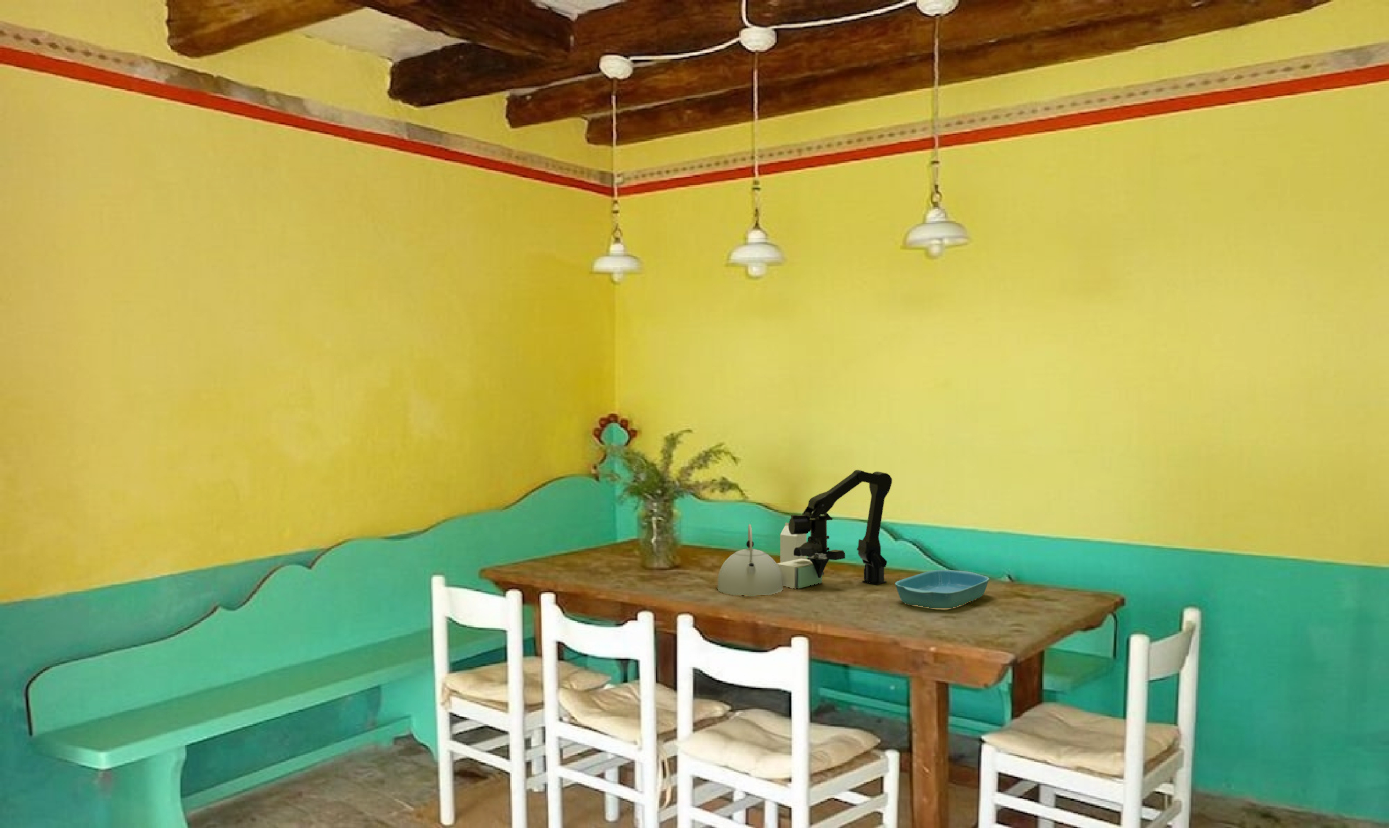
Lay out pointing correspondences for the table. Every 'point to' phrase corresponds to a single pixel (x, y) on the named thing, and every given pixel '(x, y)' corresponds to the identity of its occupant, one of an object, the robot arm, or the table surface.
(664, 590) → the table surface
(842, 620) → the table surface
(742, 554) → the kettle
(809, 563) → the cupboard
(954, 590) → the casserole dish
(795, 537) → the milk carton
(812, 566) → the door
